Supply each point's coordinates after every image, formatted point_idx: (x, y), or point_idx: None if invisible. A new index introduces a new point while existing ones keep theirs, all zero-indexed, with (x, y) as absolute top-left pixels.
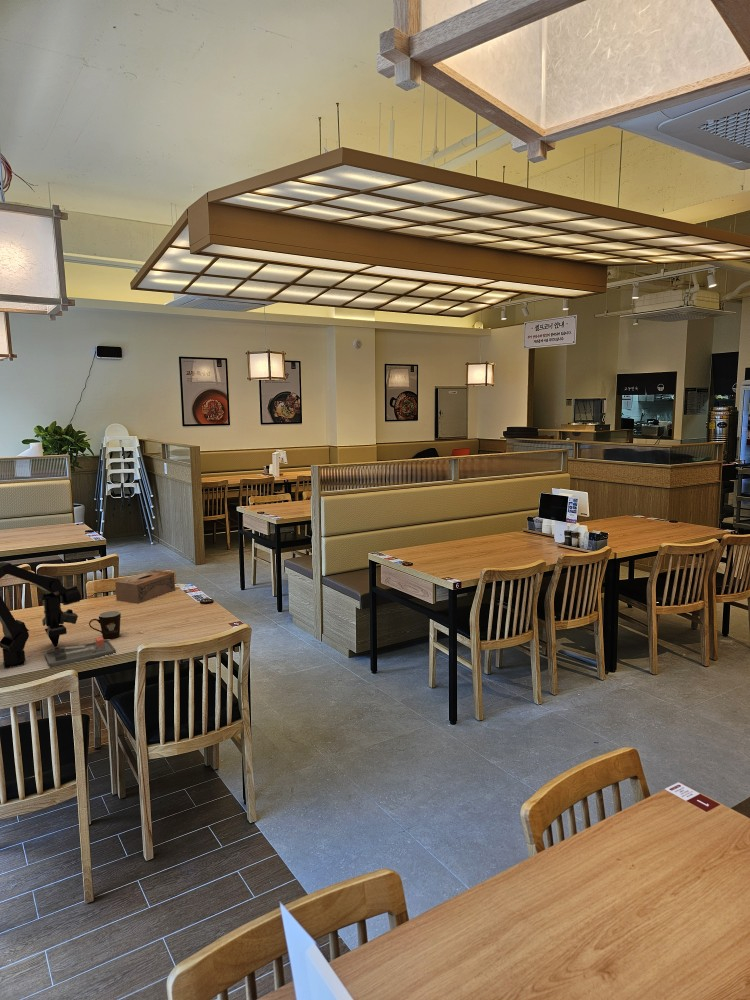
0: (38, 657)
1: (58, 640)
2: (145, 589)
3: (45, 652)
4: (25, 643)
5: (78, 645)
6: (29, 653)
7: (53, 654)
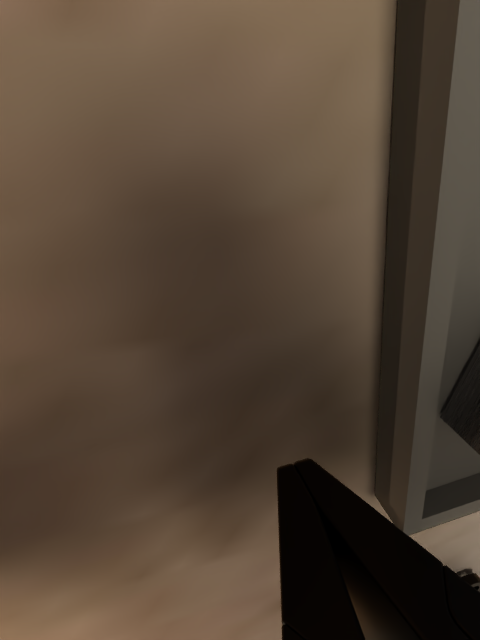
0: None
1: (408, 538)
2: None
3: (418, 525)
4: None
5: (451, 84)
6: (198, 628)
7: None
